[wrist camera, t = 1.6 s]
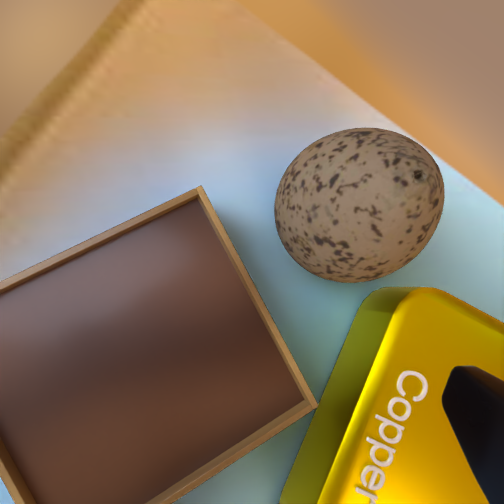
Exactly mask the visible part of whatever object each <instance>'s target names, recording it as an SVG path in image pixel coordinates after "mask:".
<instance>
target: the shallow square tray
mask: <svg viewBox="0 0 504 504" xmlns="http://www.w3.org/2000/svg"><path fill="white" fill-rule="evenodd" d="M318 406H319V405H318V403H317V402H316V400H315V398H314V396H313V394H312V392H311V390H310V388H309V386H308V385H307V383H306V381H305V379H304V377H303V375H302V373H301V371H300V370H299V368H298V366H297V364H296V362H295V360H294V358H293V356H292V355H291V353H290V351H289V349H288V347H287V345H286V343H285V341H284V340H283V338H282V336H281V334H280V332H279V330H278V328H277V326H276V325H275V323H274V321H273V319H272V317H271V315H270V313H269V311H268V309H267V308H266V306H265V304H264V302H263V300H262V298H261V296H260V294H259V293H258V291H257V289H256V287H255V285H254V283H253V281H252V279H251V278H250V276H249V274H248V272H247V270H246V268H245V266H244V264H243V263H242V261H241V259H240V257H239V255H238V253H237V251H236V249H235V248H234V246H233V244H232V242H231V240H230V238H229V236H228V234H227V233H226V231H225V229H224V227H223V225H222V223H221V221H220V219H219V217H218V216H217V214H216V212H215V210H214V208H213V206H212V204H211V202H210V201H209V199H208V197H207V195H206V193H205V191H204V189H203V187H202V186H199V187H197V188H195V189H192V190H190V191H188V192H186V193H184V194H182V195H180V196H178V197H176V198H174V199H172V200H170V201H167V202H165V203H163V204H161V205H159V206H157V207H155V208H153V209H151V210H149V211H147V212H145V213H142V214H140V215H138V216H136V217H134V218H132V219H130V220H128V221H126V222H124V223H122V224H120V225H117V226H115V227H113V228H111V229H109V230H107V231H105V232H103V233H101V234H99V235H97V236H95V237H93V238H90V239H88V240H86V241H84V242H82V243H80V244H78V245H76V246H74V247H72V248H70V249H68V250H65V251H63V252H61V253H59V254H57V255H55V256H53V257H51V258H49V259H47V260H45V261H43V262H40V263H38V264H36V265H34V266H32V267H30V268H28V269H26V270H24V271H22V272H20V273H18V274H15V275H13V276H11V277H9V278H7V279H5V280H3V281H1V282H0V477H1V479H2V481H3V482H4V484H5V486H6V488H7V490H8V491H9V493H10V495H11V497H12V499H13V500H14V502H15V504H172V503H173V502H175V501H176V500H178V499H179V498H181V497H182V496H184V495H185V494H187V493H188V492H190V491H191V490H193V489H194V488H196V487H197V486H199V485H200V484H202V483H203V482H205V481H206V480H208V479H209V478H211V477H213V476H214V475H216V474H217V473H219V472H220V471H222V470H223V469H225V468H226V467H228V466H229V465H231V464H232V463H234V462H235V461H237V460H238V459H240V458H241V457H243V456H244V455H246V454H247V453H249V452H250V451H252V450H253V449H255V448H256V447H258V446H259V445H261V444H262V443H264V442H265V441H267V440H268V439H270V438H271V437H273V436H274V435H276V434H278V433H279V432H281V431H282V430H284V429H285V428H287V427H288V426H290V425H291V424H293V423H294V422H296V421H297V420H299V419H300V418H302V417H303V416H305V415H306V414H308V413H309V412H311V411H312V410H313V409H315V408H317V407H318Z"/></svg>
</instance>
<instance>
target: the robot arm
mask: <svg viewBox="0 0 504 504" xmlns="http://www.w3.org/2000/svg"><path fill="white" fill-rule="evenodd" d="M441 401H442V407H443V409H444V412H445V414H446V416H447V418H448V420H449V422H450V425H451V427H452V429H453V431H454V433H455V436H456V438H457V440H458V442H459V444H460V447H461V449H462V451H463V453H464V455H465V458H466V460H467V462H468V464H469V466H470V468H471V470H472V472H473V475H474V477H475V479H476V481H477V482H478V484H479V486H480V488H481V490H482V492H483V493H484V495H485V497H486V499H487V501H488V502H489V504H504V381H503V380H501V379H499V378H497V377H495V376H494V375H492V374H490V373H488V372H486V371H484V370H482V369H480V368H478V367H476V366H472V365H467V366H456V367H454V368H453V369H452V370H451V372H450V375H449V378H448V380H447V383H446V386H445V388H444V391H443V393H442V398H441Z"/></svg>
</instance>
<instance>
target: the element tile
mask: <svg viewBox="0 0 504 504" xmlns="http://www.w3.org/2000/svg"><path fill="white" fill-rule="evenodd" d="M467 365H472V366H476V367H478V368H480V369H482V370H484V371H486V372H488V373H490V374H492V375H494V376H495V377H497V378H499V379H501V380H503V381H504V323H503V322H501V321H499V320H497V319H496V318H494V317H492V316H490V315H488V314H486V313H484V312H482V311H481V310H479V309H477V308H475V307H473V306H471V305H469V304H468V303H466V302H464V301H462V300H460V299H458V298H456V297H454V296H453V295H451V294H449V293H447V292H445V291H443V290H440V289H437V288H434V287H383V288H380V289H378V290H375V291H373V292H372V293H371V294H370V295H369V296H368V297H367V298H366V299H365V300H364V301H363V302H362V304H361V306H360V307H359V309H358V311H357V313H356V316H355V318H354V321H353V323H352V325H351V328H350V330H349V333H348V335H347V337H346V340H345V342H344V344H343V347H342V349H341V352H340V354H339V356H338V359H337V361H336V364H335V366H334V368H333V371H332V373H331V376H330V378H329V380H328V383H327V385H326V387H325V390H324V392H323V395H322V397H321V399H320V402H319V404H318V405H319V406H318V407H317V409H316V411H315V414H314V416H313V418H312V421H311V423H310V426H309V428H308V430H307V433H306V435H305V438H304V440H303V442H302V445H301V447H300V450H299V452H298V454H297V457H296V459H295V461H294V464H293V466H292V469H291V471H290V473H289V476H288V478H287V481H286V483H285V485H284V488H283V490H282V493H281V497H280V501H279V504H489V502H488V501H487V499H486V497H485V495H484V493H483V492H482V490H481V488H480V486H479V484H478V482H477V481H476V479H475V477H474V475H473V472H472V470H471V468H470V466H469V464H468V462H467V460H466V458H465V455H464V453H463V451H462V449H461V447H460V444H459V442H458V440H457V438H456V436H455V433H454V431H453V429H452V427H451V425H450V422H449V420H448V418H447V416H446V414H445V412H444V409H443V407H442V401H441V398H442V393H443V391H444V388H445V386H446V383H447V380H448V378H449V375H450V372H451V370H452V369H453V368H454V367H456V366H467Z"/></svg>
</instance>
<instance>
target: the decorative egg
mask: <svg viewBox="0 0 504 504" xmlns="http://www.w3.org/2000/svg"><path fill="white" fill-rule="evenodd" d="M443 205H444V183H443V179H442V175H441V172H440V169H439V167H438V165H437V164H436V162H435V161H434V159H433V158H432V156H431V155H430V154H429V153H428V152H427V151H426V150H425V149H424V148H423V147H422V146H421V145H419V144H418V143H416V142H415V141H413V140H411V139H410V138H408V137H406V136H403V135H401V134H399V133H396V132H393V131H388V130H383V129H378V128H355V129H348V130H343V131H339V132H336V133H333V134H330V135H328V136H326V137H323V138H321V139H319V140H317V141H316V142H314V143H312V144H311V145H309V146H308V147H307V148H305V149H304V150H303V151H302V152H301V153H300V154H299V155H298V156H297V157H296V158H295V159H294V160H293V162H292V163H291V164H290V165H289V167H288V168H287V170H286V172H285V173H284V175H283V177H282V179H281V181H280V184H279V187H278V189H277V194H276V198H275V210H274V212H275V223H276V228H277V231H278V235H279V237H280V239H281V242H282V244H283V245H284V247H285V249H286V250H287V252H288V253H289V254H290V256H291V257H292V258H293V259H294V260H295V261H296V262H297V263H298V264H299V265H301V266H302V267H303V268H304V269H306V270H307V271H309V272H311V273H312V274H314V275H316V276H319V277H321V278H324V279H327V280H331V281H336V282H342V283H357V282H365V281H371V280H374V279H378V278H381V277H384V276H386V275H388V274H390V273H393V272H394V271H396V270H398V269H400V268H402V267H403V266H405V265H406V264H408V263H409V262H410V261H411V260H413V259H414V258H415V257H416V256H417V255H418V254H419V253H420V252H421V251H422V250H423V249H424V247H425V246H426V244H427V243H428V242H429V240H430V239H431V237H432V235H433V234H434V232H435V230H436V228H437V225H438V223H439V220H440V218H441V214H442V211H443Z"/></svg>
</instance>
